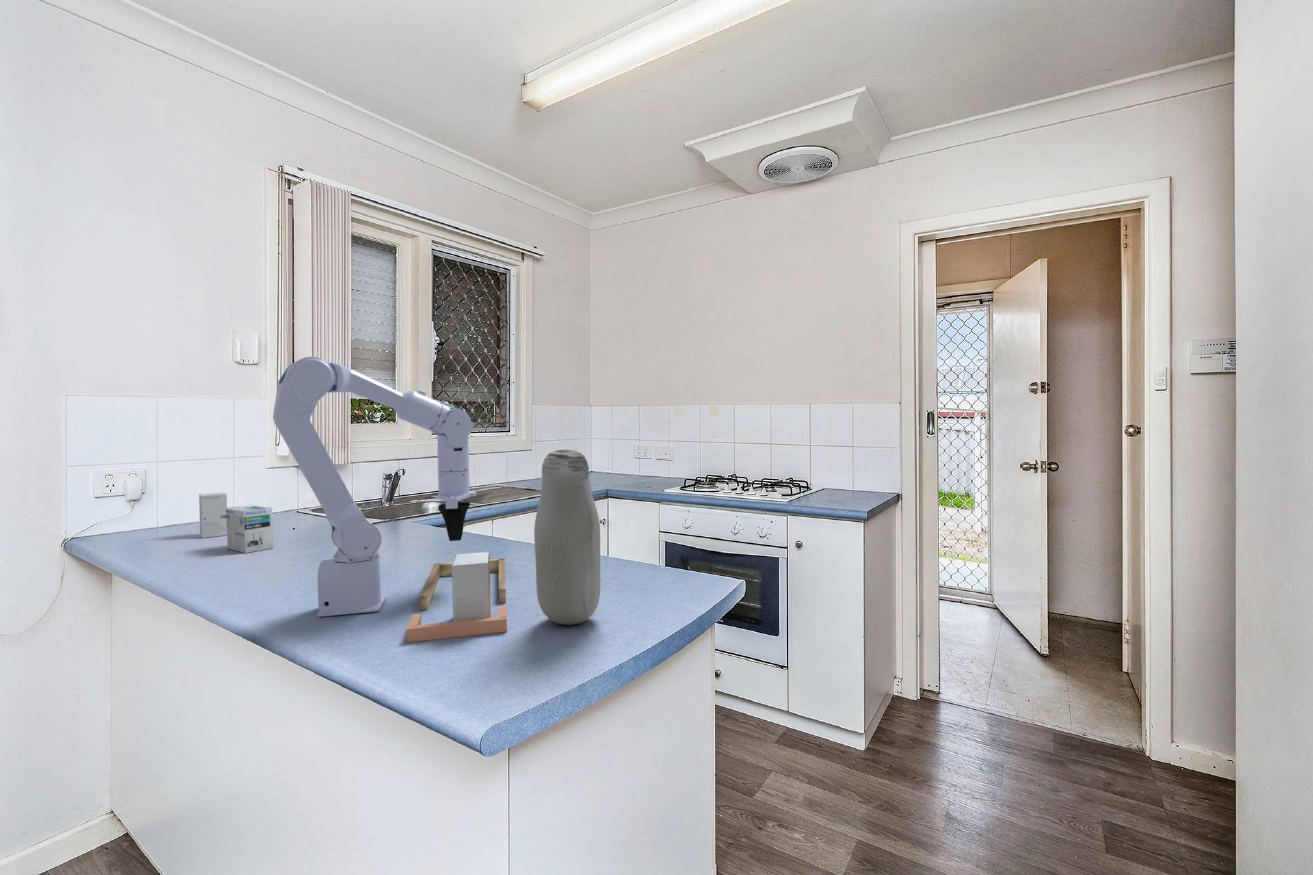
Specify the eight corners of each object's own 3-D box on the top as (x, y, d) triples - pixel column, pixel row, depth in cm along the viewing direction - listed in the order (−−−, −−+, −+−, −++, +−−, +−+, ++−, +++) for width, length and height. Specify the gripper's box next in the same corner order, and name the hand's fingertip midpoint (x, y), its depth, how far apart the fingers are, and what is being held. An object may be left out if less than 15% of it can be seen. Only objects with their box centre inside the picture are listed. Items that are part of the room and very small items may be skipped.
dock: (407, 642, 86) (406, 629, 86) (413, 626, 92) (413, 614, 92) (506, 631, 90) (506, 618, 90) (506, 617, 96) (506, 605, 96)
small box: (490, 628, 91) (488, 562, 91) (452, 632, 90) (451, 565, 89) (491, 611, 99) (490, 551, 99) (457, 615, 98) (455, 553, 97)
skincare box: (201, 538, 162) (199, 495, 161) (199, 536, 165) (197, 494, 165) (228, 535, 166) (227, 493, 166) (226, 533, 169) (224, 491, 169)
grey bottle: (610, 615, 96) (608, 448, 95) (578, 637, 87) (575, 452, 86) (560, 607, 101) (557, 447, 99) (524, 627, 91) (520, 451, 90)
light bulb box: (274, 548, 149) (273, 506, 148) (245, 553, 143) (243, 510, 143) (255, 543, 155) (253, 503, 154) (226, 548, 149) (224, 507, 149)
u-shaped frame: (420, 610, 100) (419, 596, 100) (434, 575, 122) (434, 563, 122) (505, 602, 104) (505, 588, 104) (504, 569, 126) (504, 558, 125)
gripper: (473, 473, 106) (475, 546, 107) (476, 466, 120) (478, 531, 121) (432, 475, 104) (434, 549, 105) (440, 467, 118) (442, 533, 119)
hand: (455, 540), depth 113 cm, fingers closed
